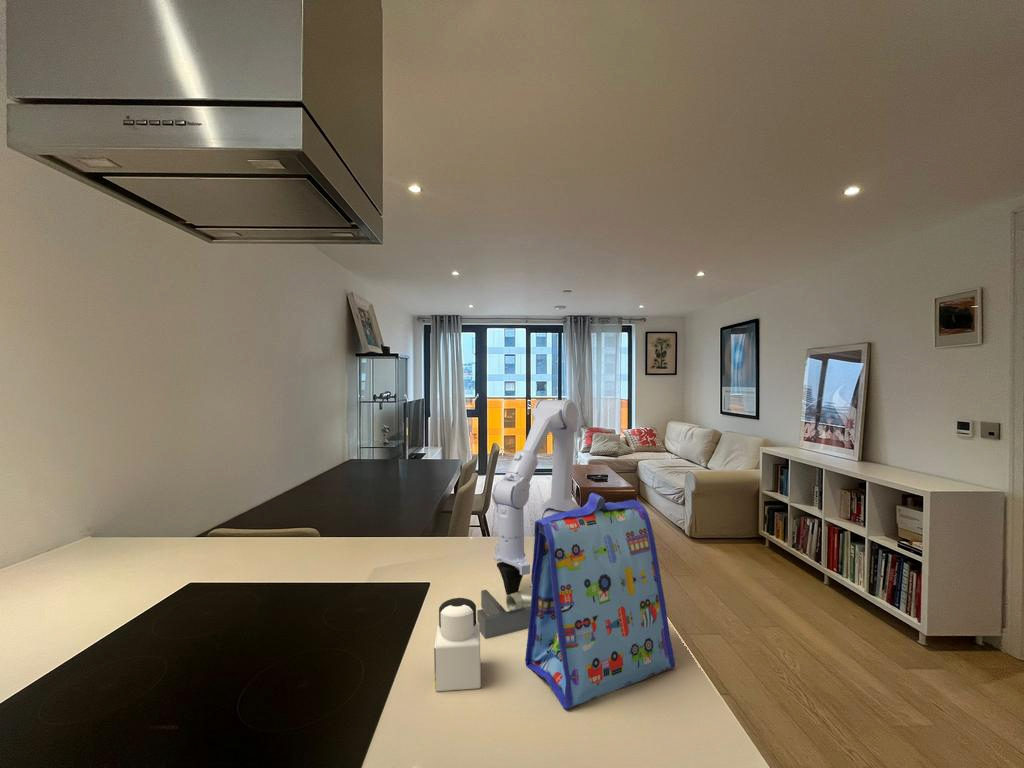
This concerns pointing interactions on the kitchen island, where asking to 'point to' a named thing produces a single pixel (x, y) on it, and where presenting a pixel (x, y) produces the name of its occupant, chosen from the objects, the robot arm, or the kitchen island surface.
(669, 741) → the kitchen island surface
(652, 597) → the lunch bag
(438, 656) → the medicine bottle
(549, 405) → the robot arm
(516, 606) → the pipe fitting
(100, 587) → the kitchen island surface
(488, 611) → the grey angle bracket
